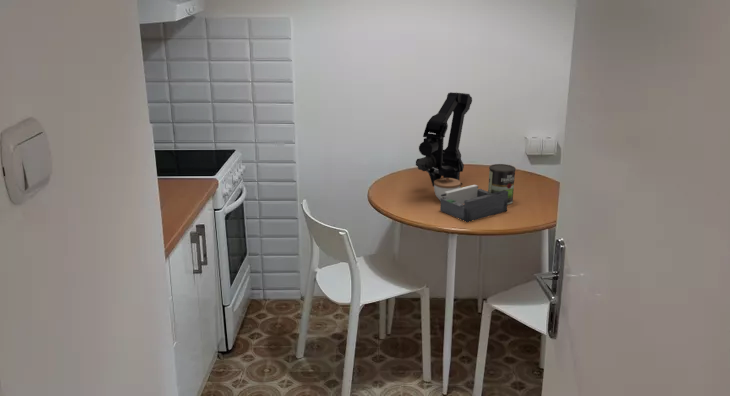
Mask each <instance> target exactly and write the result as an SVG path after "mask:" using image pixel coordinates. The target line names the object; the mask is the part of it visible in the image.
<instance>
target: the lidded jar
mask: <svg viewBox="0 0 730 396" xmlns="http://www.w3.org/2000/svg"><path fill="white" fill-rule="evenodd" d="M461 183H462V181H460V179H459V180H457V179H453V178H448V177H447V178H443V177H441V178H439V179H436V180H435V181H434V187H433V191H434V194H435V197H436V198H437V199H438V200H439V201H440V202H441V198H443V197H444V196H441V195H442V194H444V192H446V191H450V190H454V189H458V188H461V185H462V184H461Z"/></svg>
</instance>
